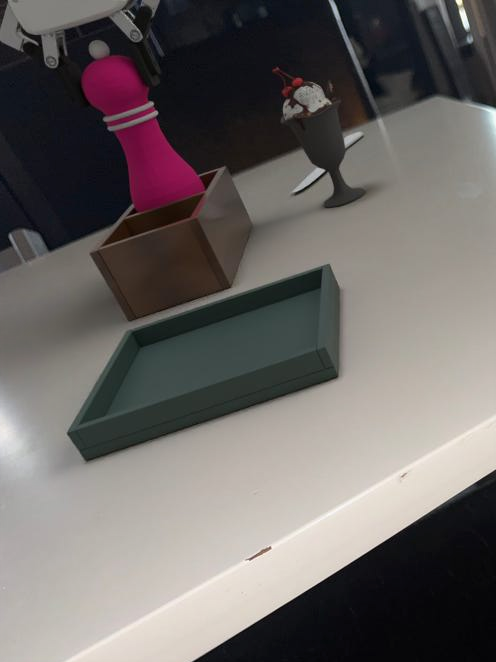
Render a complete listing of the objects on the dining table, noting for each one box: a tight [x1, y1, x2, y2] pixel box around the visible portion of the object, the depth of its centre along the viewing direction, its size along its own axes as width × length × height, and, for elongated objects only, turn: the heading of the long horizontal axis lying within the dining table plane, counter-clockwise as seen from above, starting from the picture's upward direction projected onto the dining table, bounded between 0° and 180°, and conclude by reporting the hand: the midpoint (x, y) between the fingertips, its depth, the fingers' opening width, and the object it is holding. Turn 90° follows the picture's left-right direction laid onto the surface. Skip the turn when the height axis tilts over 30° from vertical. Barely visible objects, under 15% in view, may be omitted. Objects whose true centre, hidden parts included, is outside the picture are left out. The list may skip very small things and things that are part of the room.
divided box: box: [89, 165, 253, 322], centre depth 78 cm, size 10×19×7 cm, turn 10°
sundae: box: [271, 66, 366, 208], centre depth 82 cm, size 7×7×15 cm
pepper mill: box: [81, 39, 205, 213], centre depth 77 cm, size 7×7×20 cm
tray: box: [66, 263, 341, 462], centre depth 56 cm, size 17×15×2 cm
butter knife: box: [291, 131, 364, 194], centre depth 103 cm, size 1×24×3 cm
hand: (120, 93), depth 75 cm, fingers closed on pepper mill, 6 cm apart
